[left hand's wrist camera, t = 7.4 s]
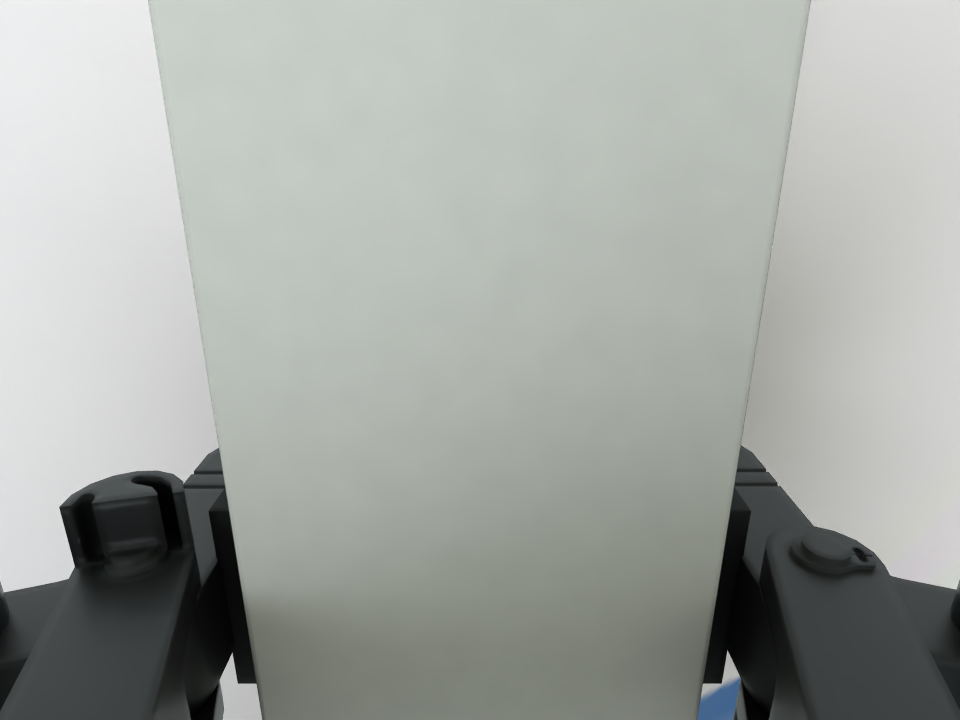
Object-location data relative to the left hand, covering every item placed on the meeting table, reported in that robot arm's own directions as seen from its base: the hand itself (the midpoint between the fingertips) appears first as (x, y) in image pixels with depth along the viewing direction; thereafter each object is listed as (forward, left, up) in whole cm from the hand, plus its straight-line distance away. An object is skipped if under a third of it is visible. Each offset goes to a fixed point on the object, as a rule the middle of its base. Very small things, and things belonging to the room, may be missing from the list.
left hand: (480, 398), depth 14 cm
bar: (+12, -20, -1) cm, 24 cm away
